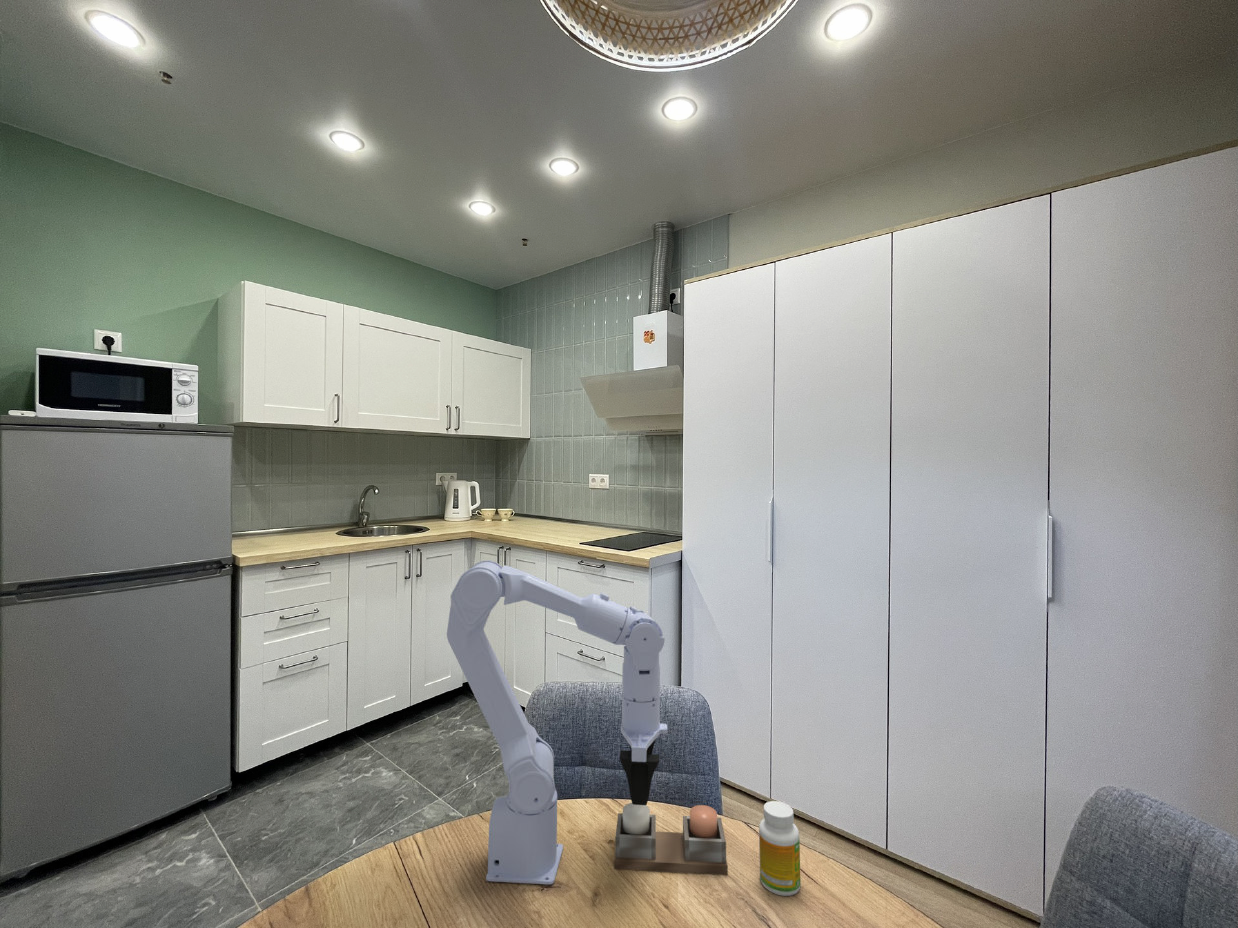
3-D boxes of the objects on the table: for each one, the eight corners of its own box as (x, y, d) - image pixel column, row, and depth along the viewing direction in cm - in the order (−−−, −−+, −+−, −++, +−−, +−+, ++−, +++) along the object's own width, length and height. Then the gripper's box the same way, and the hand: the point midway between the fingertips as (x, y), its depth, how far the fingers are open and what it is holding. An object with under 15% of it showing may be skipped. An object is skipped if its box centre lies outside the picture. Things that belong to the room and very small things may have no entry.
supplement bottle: (803, 900, 68) (801, 822, 69) (761, 894, 69) (759, 817, 70) (797, 872, 73) (796, 800, 74) (758, 866, 74) (757, 796, 75)
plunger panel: (614, 869, 74) (614, 839, 74) (617, 837, 81) (617, 810, 81) (727, 874, 73) (727, 844, 73) (721, 842, 80) (721, 815, 80)
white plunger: (622, 834, 76) (622, 817, 76) (623, 818, 80) (623, 801, 80) (649, 835, 75) (649, 818, 76) (649, 819, 79) (649, 802, 80)
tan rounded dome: (690, 837, 75) (690, 820, 75) (689, 821, 79) (688, 804, 79) (718, 839, 75) (718, 821, 75) (715, 822, 79) (715, 805, 79)
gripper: (668, 715, 71) (668, 819, 70) (666, 680, 86) (666, 766, 85) (617, 713, 72) (616, 816, 71) (624, 679, 86) (623, 764, 85)
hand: (640, 789), depth 78 cm, fingers open, 7 cm apart
